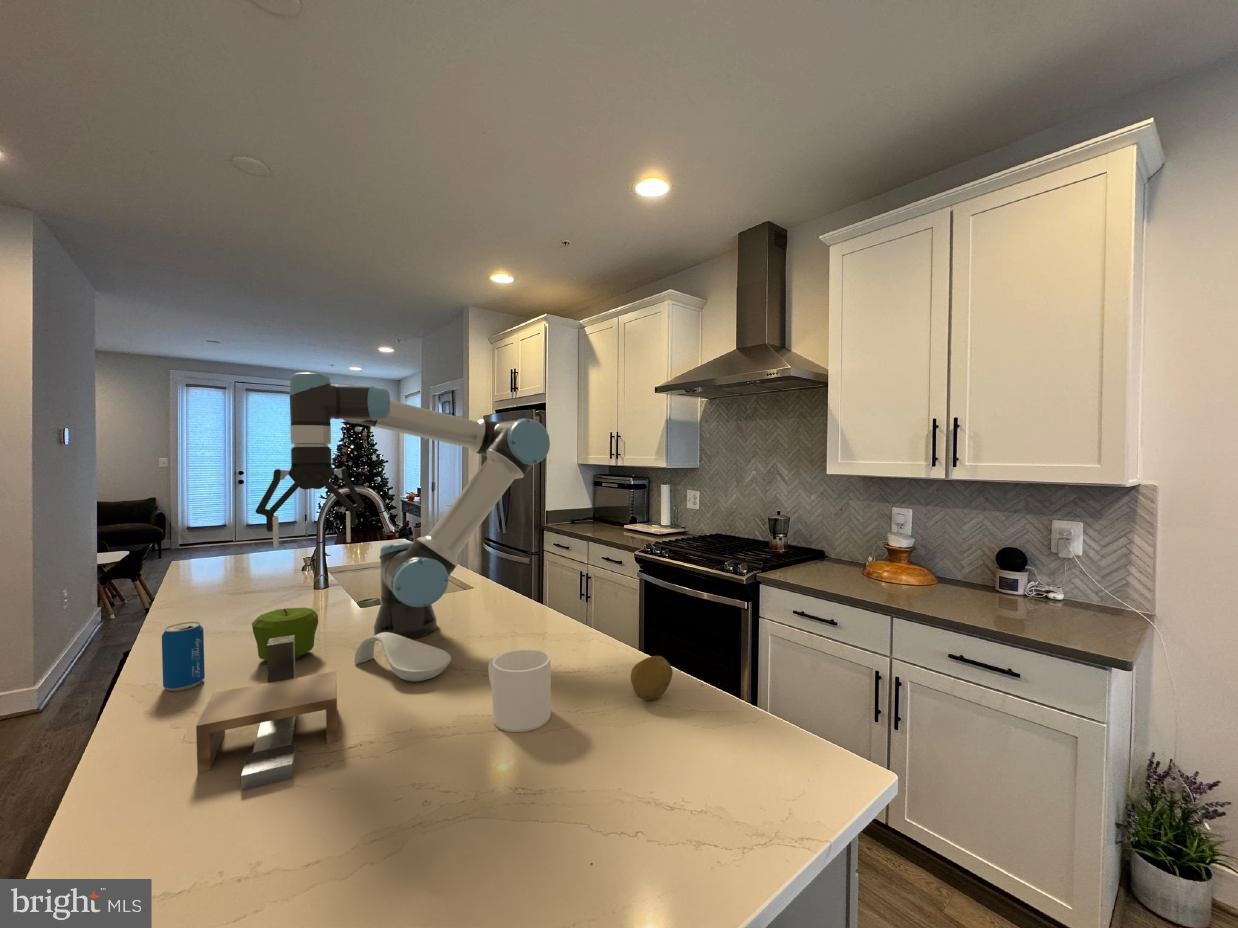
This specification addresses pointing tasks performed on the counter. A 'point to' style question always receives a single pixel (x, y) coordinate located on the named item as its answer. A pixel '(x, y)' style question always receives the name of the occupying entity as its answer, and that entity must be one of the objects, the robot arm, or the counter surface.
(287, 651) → the grey metal prism
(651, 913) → the counter surface
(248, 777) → the block
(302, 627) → the apple
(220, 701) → the walnut shelf
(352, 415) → the robot arm
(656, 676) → the potato
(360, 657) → the spoon rest
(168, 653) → the beverage can
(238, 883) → the counter surface
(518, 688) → the mug
